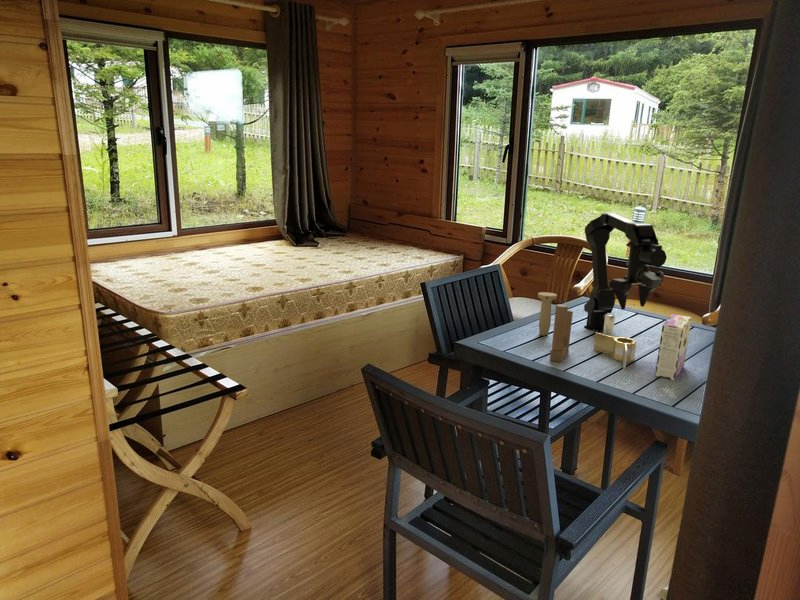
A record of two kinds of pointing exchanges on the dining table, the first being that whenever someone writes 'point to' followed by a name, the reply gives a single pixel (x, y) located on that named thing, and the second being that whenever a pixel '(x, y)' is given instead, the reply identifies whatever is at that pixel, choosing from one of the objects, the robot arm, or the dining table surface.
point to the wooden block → (561, 333)
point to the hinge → (616, 347)
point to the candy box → (673, 346)
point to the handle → (545, 312)
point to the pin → (609, 324)
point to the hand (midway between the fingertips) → (632, 307)
